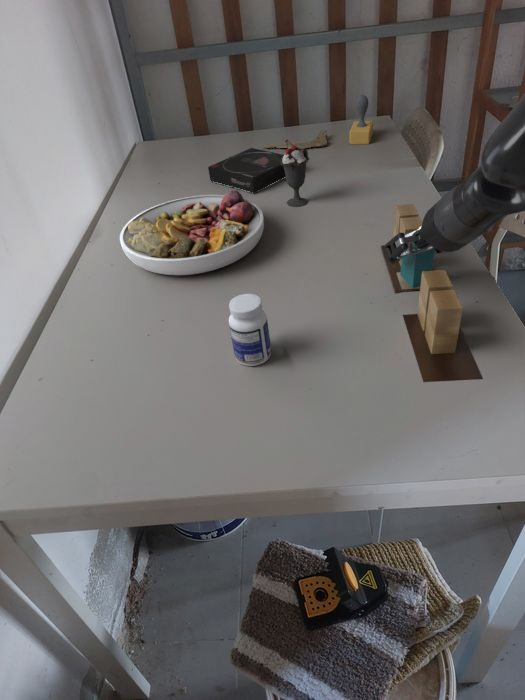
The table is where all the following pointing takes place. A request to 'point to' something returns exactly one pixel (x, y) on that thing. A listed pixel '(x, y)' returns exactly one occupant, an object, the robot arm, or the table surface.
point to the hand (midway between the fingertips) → (414, 253)
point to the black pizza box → (249, 170)
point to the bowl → (193, 234)
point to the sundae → (295, 172)
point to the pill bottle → (249, 330)
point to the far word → (404, 223)
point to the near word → (440, 332)
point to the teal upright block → (416, 266)
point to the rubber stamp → (361, 124)
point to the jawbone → (317, 142)
